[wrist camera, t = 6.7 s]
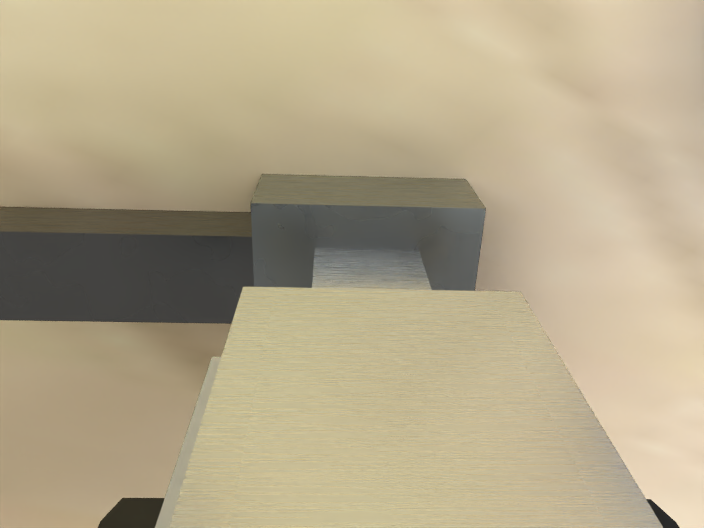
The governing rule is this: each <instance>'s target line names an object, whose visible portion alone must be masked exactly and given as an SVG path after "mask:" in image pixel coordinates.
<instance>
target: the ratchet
mask: <svg viewBox="0 0 704 528" xmlns="http://www.w3.org/2000/svg"><path fill="white" fill-rule="evenodd" d="M485 211H486V208H485V207H484V205H483V204H482V202H481V201H480V199H479V198H478V197H477V195H476V194H475V192H474V191H473V189H472V188H471V186H470V185H469V183H468V182H467V181H466V179H437V178H397V177H357V176H317V175H277V174H262V175H261V178H260V180H259V183H258V185H257V188H256V191H255V193H254V196H253V198H252V201H251V213H248V212H204V211H159V210H115V209H71V208H26V207H0V320H34V321H101V322H167V323H232V321H233V318H234V314H235V311H236V308H237V305H238V301H239V298H240V295H241V292H242V288H243V287H291V288H346V289H402V290H457V291H475V284H476V277H477V269H478V262H479V255H480V248H481V240H482V233H483V226H484V218H485Z"/></svg>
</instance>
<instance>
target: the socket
mask: <svg viewBox="0 0 704 528" xmlns="http://www.w3.org/2000/svg"><path fill="white" fill-rule="evenodd" d="M169 528H663V526H662V525H661V523H660V521H659V520H658V518H657V517H656V515H655V513H654V512H653V510H652V508H651V507H650V505H649V503H648V502H647V500H646V498H645V497H644V495H643V493H642V492H641V490H640V488H639V487H638V485H637V484H636V482H635V480H634V479H633V477H632V475H631V474H630V472H629V470H628V469H627V467H626V465H625V464H624V462H623V460H622V459H621V457H620V455H619V454H618V452H617V450H616V449H615V447H614V446H613V444H612V442H611V441H610V439H609V437H608V436H607V434H606V432H605V431H604V429H603V427H602V426H601V424H600V422H599V421H598V419H597V417H596V416H595V414H594V413H593V411H592V409H591V408H590V406H589V404H588V403H587V401H586V399H585V398H584V396H583V394H582V393H581V391H580V389H579V388H578V386H577V384H576V383H575V381H574V380H573V378H572V376H571V375H570V373H569V371H568V370H567V368H566V366H565V365H564V363H563V361H562V360H561V358H560V356H559V355H558V353H557V351H556V350H555V348H554V346H553V345H552V343H551V342H550V340H549V338H548V337H547V335H546V333H545V332H544V330H543V328H542V327H541V325H540V323H539V322H538V320H537V318H536V317H535V315H534V313H533V312H532V310H531V309H530V307H529V305H528V304H527V302H526V300H525V299H524V297H523V295H522V294H521V292H512V291H457V290H402V289H346V288H291V287H243V288H242V292H241V295H240V298H239V301H238V305H237V308H236V311H235V314H234V318H233V321H232V324H231V327H230V331H229V334H228V337H227V340H226V344H225V347H224V350H223V353H222V357H221V360H220V363H219V366H218V370H217V373H216V376H215V379H214V383H213V386H212V389H211V392H210V396H209V399H208V402H207V405H206V409H205V412H204V415H203V418H202V422H201V425H200V428H199V431H198V435H197V438H196V441H195V444H194V448H193V451H192V454H191V457H190V461H189V464H188V467H187V470H186V474H185V477H184V480H183V483H182V487H181V490H180V493H179V496H178V500H177V503H176V506H175V509H174V513H173V516H172V519H171V522H170V526H169Z"/></svg>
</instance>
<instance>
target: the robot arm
mask: <svg viewBox="0 0 704 528" xmlns="http://www.w3.org/2000/svg"><path fill="white" fill-rule="evenodd" d="M220 360H221V357H212V358H211V361H210V364H209V367H208V370H207V373H206V376H205V379H204V382H203V385H202V388H201V391H200V394H199V397H198V400H197V403H196V406H195V409H194V412H193V415H192V418H191V421H190V424H189V427H188V430H187V433H186V436H185V439H184V442H183V445H182V448H181V451H180V454H179V457H178V460H177V463H176V466H175V469H174V472H173V475H172V478H171V481H170V484H169V487H168V490H167V493H166V496H165V498H122V499H121V500H120V501H119V502H118V503H117V504H116V505H115V507H114V508H113V509H112V510H111V511H110V512H109V513H108V514H107V515H106V516H105V517H104V518H103V519H102V520H101V521H100V524H99V526H98V528H169V526H170V522H171V519H172V516H173V513H174V509H175V506H176V503H177V500H178V496H179V493H180V490H181V487H182V483H183V480H184V477H185V474H186V470H187V467H188V464H189V461H190V457H191V454H192V451H193V448H194V444H195V441H196V438H197V435H198V431H199V428H200V425H201V422H202V418H203V415H204V412H205V409H206V405H207V402H208V399H209V396H210V392H211V389H212V386H213V383H214V379H215V376H216V373H217V370H218V366H219V363H220ZM646 500H647V502H648V503H649V505H650V507H651V508H652V510H653V512H654V513H655V515H656V517H657V518H658V520H659V521H660V523H661V525H662V526H663V528H679V526H678V525H677V523H676V522H675V521H674V520H673V519H672V518H671V517H670V516H668V515H667V514H666V513H665V512H664V511H663V510H662V509H661V508H660V507H658V506H657V505H656V504H655V503H654V502H653V501H652V500H651V499H646Z"/></svg>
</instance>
